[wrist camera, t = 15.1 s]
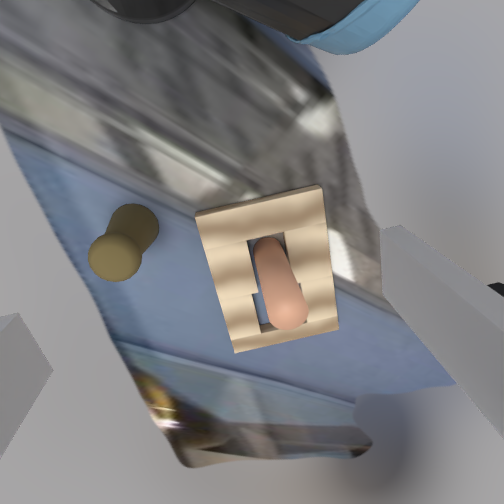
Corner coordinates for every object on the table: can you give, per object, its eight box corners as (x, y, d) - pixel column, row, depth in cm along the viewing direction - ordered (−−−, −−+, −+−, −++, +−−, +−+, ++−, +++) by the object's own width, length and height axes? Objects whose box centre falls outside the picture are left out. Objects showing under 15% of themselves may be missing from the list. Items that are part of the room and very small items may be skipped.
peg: (250, 240, 46) (264, 300, 32) (279, 234, 46) (305, 291, 32) (256, 266, 48) (272, 333, 34) (284, 260, 48) (311, 324, 34)
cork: (168, 222, 44) (154, 259, 34) (142, 256, 46) (122, 301, 36) (126, 193, 42) (98, 224, 32) (101, 230, 44) (67, 270, 34)
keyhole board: (195, 212, 44) (194, 217, 42) (317, 184, 44) (321, 188, 42) (234, 344, 53) (235, 353, 51) (334, 321, 53) (339, 329, 51)
